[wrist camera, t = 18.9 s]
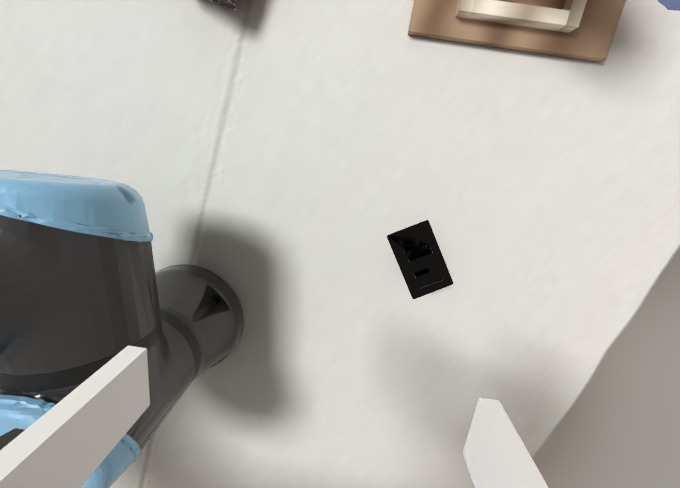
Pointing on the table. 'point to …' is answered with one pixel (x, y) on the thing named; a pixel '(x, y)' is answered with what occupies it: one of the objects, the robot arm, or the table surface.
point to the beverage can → (227, 3)
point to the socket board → (522, 24)
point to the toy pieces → (671, 4)
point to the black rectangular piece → (420, 259)
